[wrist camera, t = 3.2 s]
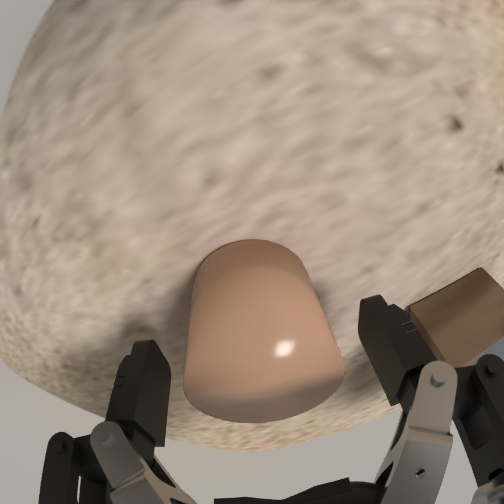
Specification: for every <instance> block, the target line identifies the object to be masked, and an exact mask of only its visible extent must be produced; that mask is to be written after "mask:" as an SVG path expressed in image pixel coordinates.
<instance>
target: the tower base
mask: <svg viewBox="0 0 504 504" xmlns="http://www.w3.org/2000/svg"><path fill="white" fill-rule="evenodd" d="M409 318H410V319H411V322H413V324H414V325H415V327H416V328H417V330H418V331H419V332H420V334H421V335H422V337H423V338H424V340H425V341H426V343H427V344H428V346H429V348H430V349H431V351H432V352H433V354H434V355H435V357H436V358H437V359H438V360H439V361H443V362H446V363H448V364H450V365H451V366H452V367H453V368H459V367H466V366H470V365H471V364H472V363H473V362H475V361H476V360H477V359H478V358H479V357H481V356H482V355H483V354H484V353H485V352H487V351H488V350H489V349H490V348H491V347H492V346H493V345H495V344H496V343H497V342H498V341H499V340H500V339H501V338H502V337H503V336H504V289H503V288H502V287H501V286H500V285H499V284H498V283H497V282H496V281H495V280H494V279H493V278H492V277H491V276H490V275H489V274H488V273H487V272H486V271H485V270H484V269H483V268H482V267H480V268H479V269H477V270H476V271H474V272H472V273H471V274H469V275H467V276H465V277H464V278H462V279H460V280H458V281H457V282H455V283H453V284H451V285H450V286H448V287H446V288H444V289H442V290H440V291H439V292H437V293H435V294H433V295H431V296H429V297H427V298H425V299H423V300H421V301H419V302H417V303H415V304H413V305H411V306H410V313H409Z"/></svg>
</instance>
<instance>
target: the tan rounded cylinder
mask: <svg viewBox="0 0 504 504" xmlns="http://www.w3.org/2000/svg"><path fill="white" fill-rule="evenodd" d="M344 374H345V365H344V361H343V358H342V356H341V353H340V351H339V348H338V346H337V343H336V341H335V338H334V336H333V333H332V331H331V328H330V326H329V323H328V321H327V318H326V316H325V313H324V311H323V309H322V306H321V304H320V301H319V299H318V297H317V294H316V292H315V290H314V287H313V285H312V282H311V280H310V278H309V275H308V273H307V271H306V269H305V267H304V265H303V263H302V261H301V260H300V259H299V257H298V256H297V255H296V254H295V253H293V252H292V251H291V250H289V249H288V248H286V247H284V246H282V245H280V244H277V243H274V242H270V241H266V240H243V241H238V242H234V243H231V244H228V245H226V246H224V247H222V248H220V249H218V250H216V251H215V252H213V253H212V254H211V255H210V256H209V257H207V258H206V259H205V261H204V262H203V263H202V264H201V266H200V267H199V269H198V271H197V273H196V275H195V279H194V283H193V291H192V299H191V308H190V317H189V326H188V335H187V346H186V356H185V368H184V380H183V390H184V393H185V396H186V398H187V399H188V401H189V402H190V403H191V404H192V405H193V406H194V407H195V408H197V409H198V410H200V411H201V412H203V413H205V414H207V415H209V416H212V417H215V418H218V419H221V420H226V421H231V422H239V423H263V422H271V421H277V420H282V419H286V418H290V417H293V416H296V415H299V414H301V413H304V412H306V411H308V410H310V409H312V408H314V407H316V406H318V405H319V404H321V403H322V402H324V401H325V400H326V399H328V398H329V397H330V396H331V395H332V394H333V393H334V392H335V391H336V390H337V389H338V387H339V386H340V384H341V382H342V380H343V378H344Z"/></svg>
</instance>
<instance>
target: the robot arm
mask: <svg viewBox="0 0 504 504" xmlns="http://www.w3.org/2000/svg"><path fill="white" fill-rule="evenodd" d="M358 333H359V338H360V341H361V343H362V345H363V347H364V349H365V351H366V353H367V355H368V357H369V359H370V361H371V364H372V366H373V368H374V370H375V372H376V374H377V376H378V378H379V381H380V383H381V385H382V387H383V389H384V392H385V394H386V396H387V398H388V401H389V403H390V405H391V406H393V405H396V404H399V403H400V404H401V406H402V409H403V410H402V412H401V416H400V419H399V422H398V425H397V428H396V431H395V434H394V437H393V440H392V442H391V445H390V448H389V450H388V453H387V455H386V457H385V459H384V461H383V463H382V465H381V467H380V469H379V471H378V473H377V476H376V478H375V480H374V482H373V483H369V482H358V481H356V482H355V481H354V482H350V481H349V478H348V477H347V478H344V479H340V480H337V481H334V482H329V483H325V484H321V485H317V486H314V487H312V488H310V489H308V490H305V491H303V492H301V493H298V494H296V495H294V496H291V497H289V498H286V499H283V500H272V499H260V498H252V497H238V498H220V499H214V504H434V503H435V500H436V498H437V495H438V492H439V489H440V486H441V483H442V480H443V477H444V474H445V471H446V467H447V464H448V460H449V456H450V452H451V448H452V443H453V436H452V434H450V425H451V420H453V421H454V423H455V426H456V428H457V430H458V433H459V435H460V438H461V440H462V443H463V445H464V448H465V451H466V453H467V456H468V459H469V462H470V464H471V467H472V470H473V473H474V476H475V479H476V483H477V485H478V489H477V490H476V492H475V494H474V496H473V499H472V502H471V504H504V361H503V360H502V359H501V358H500V357H499V356H497V355H494V354H485V355H483V356H482V357H480V358H479V360H478V361H477V363H476V365H472V366H466V367H459V368H453V367H452V366H451V365H450V364H448V363H446V362H443V361H439V360H438V359H437V358H436V357H435V355H434V354H433V352H432V351H431V349H430V348H429V346H428V344H427V343H426V341H425V340H424V338H423V337H422V335H421V334H420V332H419V331H418V330H417V328H416V327H415V325H414V324H413V322H411V319H410V318H409V316H408V315H407V314H406V312H405V311H404V310H403V309H401V308H400V307H398V306H397V305H395V304H392V305H389V306H388V305H387V303H386V302H385V300H384V299H383V297H382V296H381V295H375V296H372V297H368V298H364V299H361V301H360V310H359V321H358ZM170 383H171V370H170V366H169V363H168V362H167V360H166V358H165V357H164V355H163V353H162V352H161V350H160V348H159V347H158V345H157V343H156V342H155V341H154V340H145V341H136V342H135V343H134V344H133V348H132V351H131V355H126V356H125V358H124V359H123V361H122V362H121V363H120V365H119V368H118V371H117V375H116V379H115V382H114V387H113V390H112V394H111V398H110V402H109V407H108V411H107V415H106V419H105V421H104V422H102V423H100V424H98V425H97V426H96V427H95V428H94V429H93V431H92V433H91V434H90V435H86V436H81V437H77V438H72V437H71V436H70V435H68V434H67V433H65V432H58V433H56V434H55V435H53V436H52V437H51V439H50V440H49V442H48V446H47V451H46V456H45V461H44V467H43V473H42V480H41V486H40V495H39V504H197V503H196V502H195V501H194V500H193V499H192V498H191V497H190V496H189V495H188V494H186V493H185V492H184V491H183V490H182V489H181V488H180V487H179V486H178V484H177V483H176V482H175V481H174V479H173V478H172V477H171V476H170V474H169V473H168V472H167V470H166V469H165V468H164V466H163V465H162V464H161V462H160V461H159V460H158V459H157V457H156V456H155V454H154V448H155V447H164V446H165V434H166V422H167V411H168V401H169V392H170ZM79 476H81V484H80V495H79V503H78V501H77V490H78V480H79Z"/></svg>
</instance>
